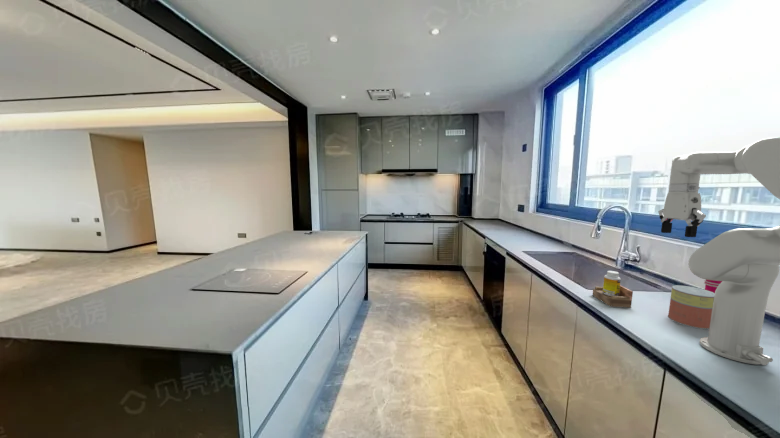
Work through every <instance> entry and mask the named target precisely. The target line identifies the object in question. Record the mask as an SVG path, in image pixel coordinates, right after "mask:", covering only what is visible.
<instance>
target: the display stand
mask: <svg viewBox="0 0 780 438" xmlns="http://www.w3.org/2000/svg"><path fill="white" fill-rule="evenodd" d="M633 293H634V291H633V290H632V289H629V288H627V287H625V286H623V285H621V284H620V289H619V296H608V295H605V294H604V293H603V286H595V287H594V288H593V290H592V296H593V297H594V298H596V299H598V300H599V301H601V302H602V301H603V303H604V304H606V305H608V306H609V307H614V308H615V307H616V308H617V307H618V308H632V304H633V303H632V301H633Z"/></svg>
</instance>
